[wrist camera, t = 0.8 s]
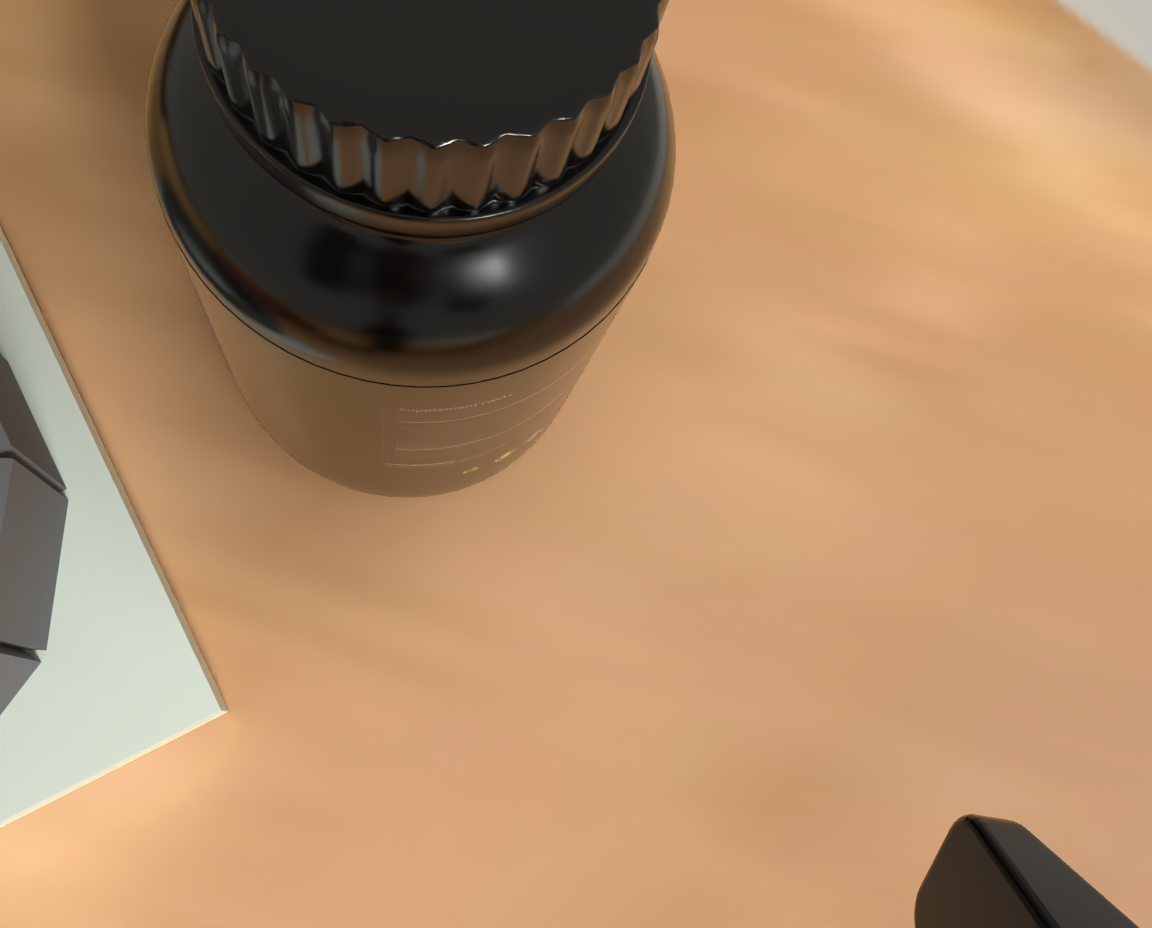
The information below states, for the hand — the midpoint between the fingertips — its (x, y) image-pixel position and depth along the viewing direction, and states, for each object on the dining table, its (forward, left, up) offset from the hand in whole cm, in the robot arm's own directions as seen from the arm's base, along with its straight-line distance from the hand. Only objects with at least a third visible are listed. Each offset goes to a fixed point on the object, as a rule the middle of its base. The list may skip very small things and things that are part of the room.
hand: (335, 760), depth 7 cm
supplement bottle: (+4, +7, -13) cm, 15 cm away
